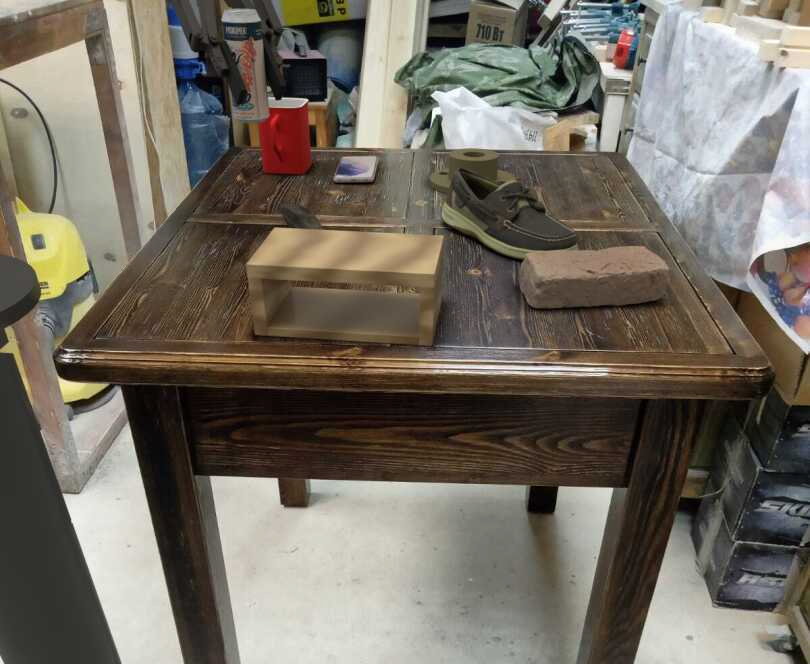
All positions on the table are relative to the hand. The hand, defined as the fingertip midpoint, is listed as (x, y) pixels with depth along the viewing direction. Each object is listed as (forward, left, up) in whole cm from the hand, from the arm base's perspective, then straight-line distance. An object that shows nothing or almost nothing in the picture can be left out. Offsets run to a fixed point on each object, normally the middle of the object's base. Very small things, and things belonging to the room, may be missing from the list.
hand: (261, 94), depth 96 cm
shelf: (+15, -23, -19) cm, 33 cm away
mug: (-8, +38, -19) cm, 43 cm away
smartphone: (+5, +39, -19) cm, 43 cm away
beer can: (-2, +3, -4) cm, 5 cm away
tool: (+6, +2, -19) cm, 20 cm away
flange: (+26, +35, -19) cm, 47 cm away
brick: (+43, -12, -19) cm, 49 cm away
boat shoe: (+32, +6, -19) cm, 37 cm away
